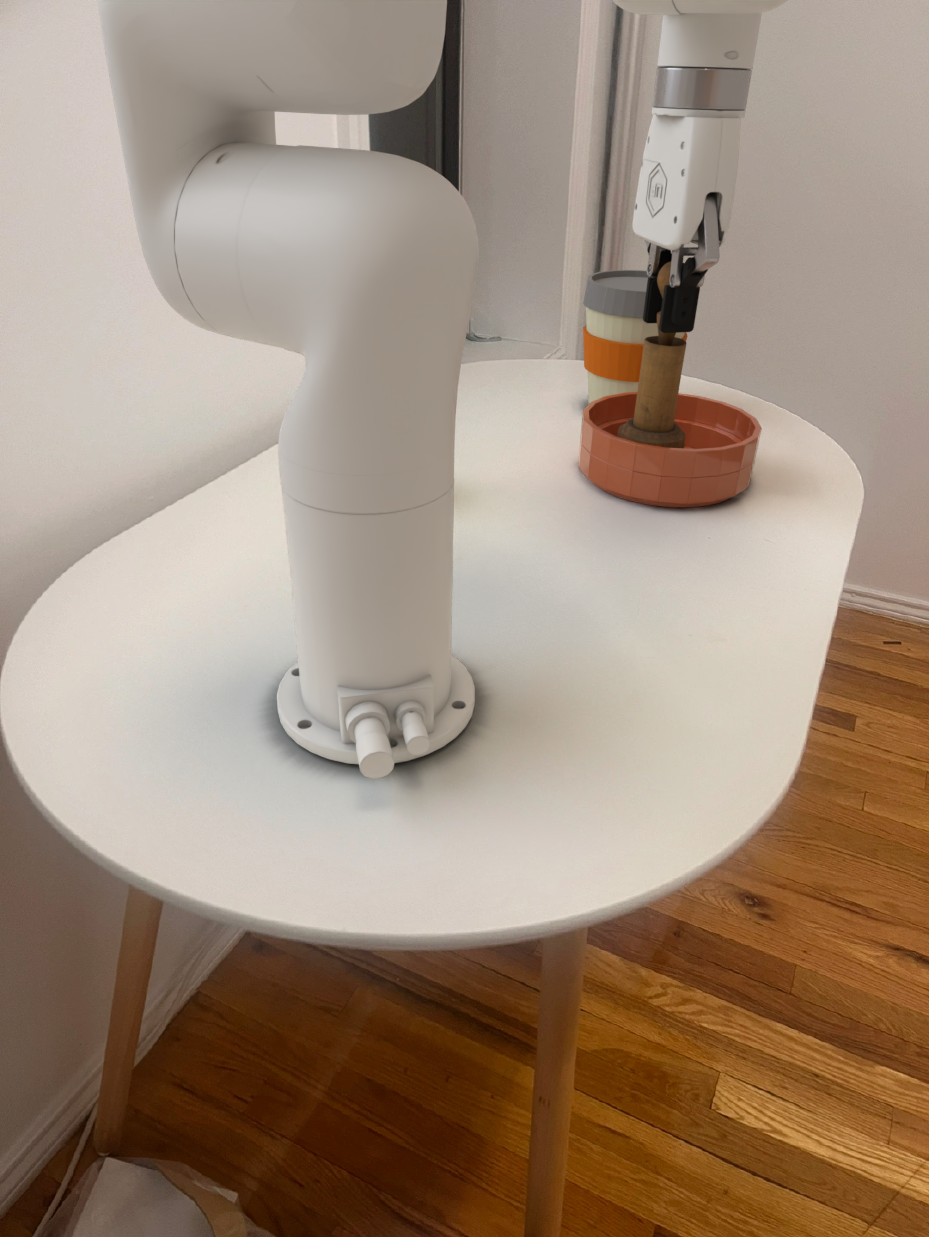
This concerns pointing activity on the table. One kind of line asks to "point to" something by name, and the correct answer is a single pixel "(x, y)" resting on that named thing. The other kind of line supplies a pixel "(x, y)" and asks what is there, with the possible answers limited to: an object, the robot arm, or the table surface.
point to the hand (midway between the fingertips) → (667, 325)
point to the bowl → (670, 453)
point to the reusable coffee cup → (615, 331)
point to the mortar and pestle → (658, 387)
